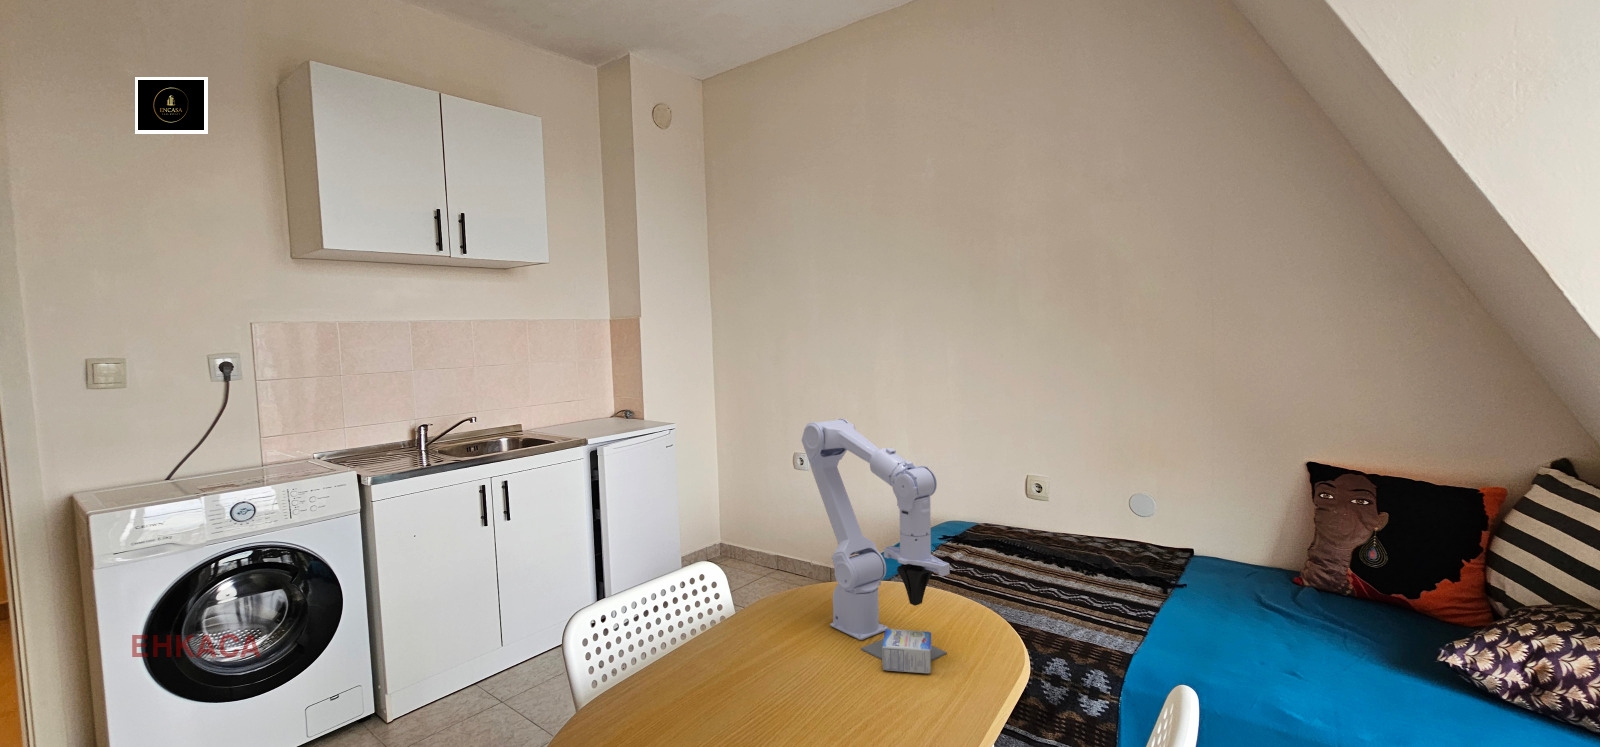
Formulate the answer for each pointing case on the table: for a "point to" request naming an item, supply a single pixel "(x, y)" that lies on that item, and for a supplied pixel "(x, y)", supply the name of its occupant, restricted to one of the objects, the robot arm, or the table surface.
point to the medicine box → (906, 651)
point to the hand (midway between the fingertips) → (915, 603)
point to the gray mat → (876, 650)
